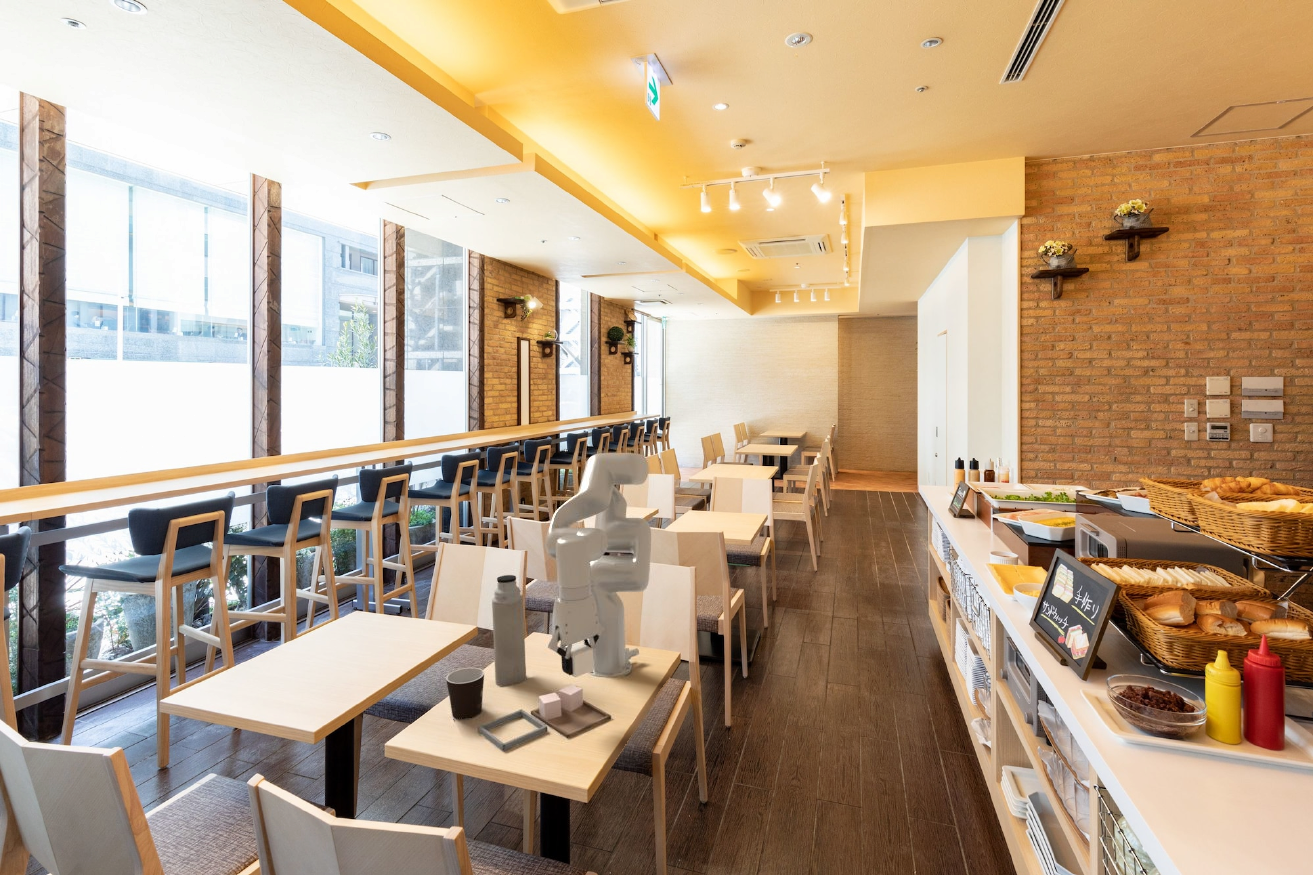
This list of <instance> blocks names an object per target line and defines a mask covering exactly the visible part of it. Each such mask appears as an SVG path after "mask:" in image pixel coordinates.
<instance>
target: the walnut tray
mask: <svg viewBox="0 0 1313 875" xmlns="http://www.w3.org/2000/svg"><path fill="white" fill-rule="evenodd" d="M530 715H531V716H533V717H534V718H536V719H537V720H539V721H540V722H542V723H543V724H545V725H546V726H547V727H548V728H551V729H552V730H553V731H555V732H557V733H559V734H560V735H561V736H562V737H564V738H566V739H570V738H572V737H574V736H577V735H579V734H581V733H583V732H585V731H587V730H589V729H591V728H594V727H596V726H598V725H600V724H603V723H605V722H606V721H609V720H611V719H612V716H611V714H609V713H607V712H606V711H604V710H602V709H600V708H599V707H598V706H594V705H593V704H591V703H590V702H588V701H586V700H584V699H583V705H582V706H580V707H578V708H577V709H575V710H573V711H568V710H566V709H563V708H561V716H560V717H556V718H552V719H549V720H547V719H545V718H544V717H542V716H541V715H540V713H539V707H538V708H535V709H533V710H530Z"/></svg>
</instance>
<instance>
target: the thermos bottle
mask: <svg viewBox="0 0 1313 875" xmlns="http://www.w3.org/2000/svg"><path fill="white" fill-rule="evenodd" d="M516 580H517V575H512V574H504V575H500V576H498V577H497V578H496V581H497V583H496V584H497V587H496V588H495V589H494V591H493V597H492V599H491V608H492V609H491V610H492V611H491V612H492V613H491V614H492V632H493V634H492V635H493V653H494V654H493V655H494V677H495V684H496V685H497V686H499V687H501V688H506V687H511V686H514V685H519V684H521V683H523V682H525V681H526V680H527V667H526V666H527V664H526V648H525V647H526V641H525V616H524V614H525V613H524V612H525V611H524V596H523V595H522V594H521V588H520V586H518V585H517V581H516Z"/></svg>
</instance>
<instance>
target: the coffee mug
mask: <svg viewBox="0 0 1313 875" xmlns="http://www.w3.org/2000/svg"><path fill="white" fill-rule="evenodd" d="M484 679H485V671H484V670H483V669H482V668H479V667H464V668H459V669H456V670H453V671H451V672H450V673H448V674H447V675H446V677H445V680H446V685H447V691H448V698H449V703H450V709H451V715H452V717H453V722H456V720H463V721H464V720H470V719H473V718H476V717H477V716H479V715H480V714H481V713H482V710H483V708H482V707H483V696H484V681H485V680H484ZM455 719H456V720H455Z"/></svg>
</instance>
